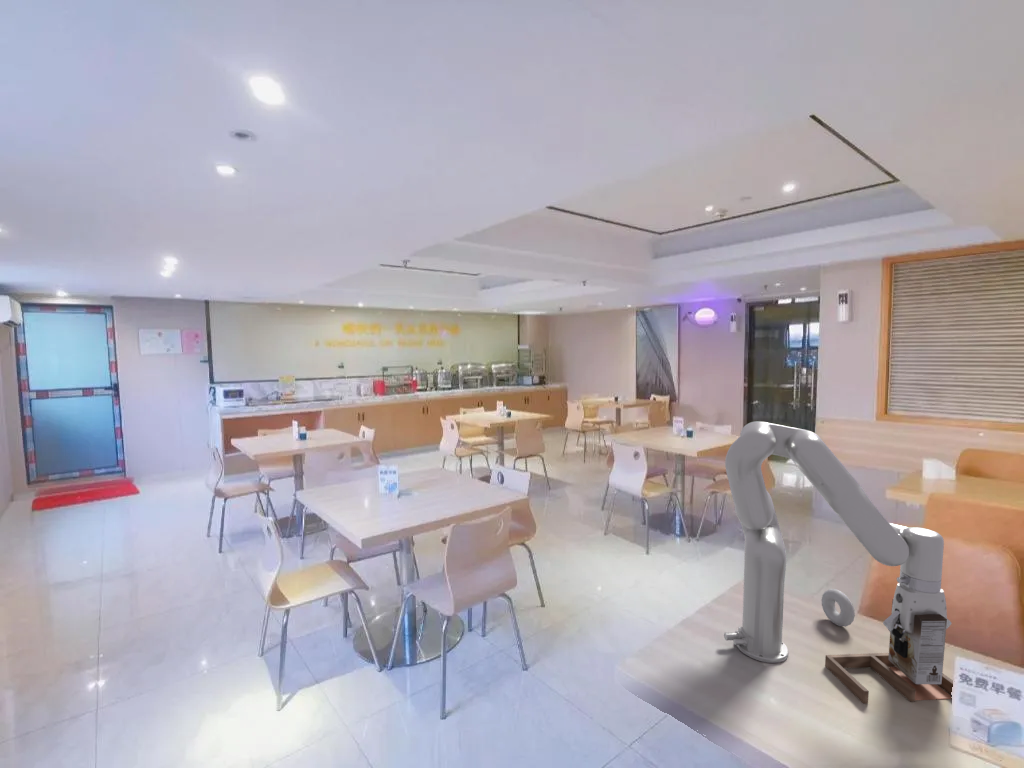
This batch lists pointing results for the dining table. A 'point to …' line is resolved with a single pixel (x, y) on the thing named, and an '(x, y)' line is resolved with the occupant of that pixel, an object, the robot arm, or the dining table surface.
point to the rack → (884, 677)
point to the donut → (845, 606)
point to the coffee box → (922, 650)
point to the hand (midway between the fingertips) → (915, 653)
